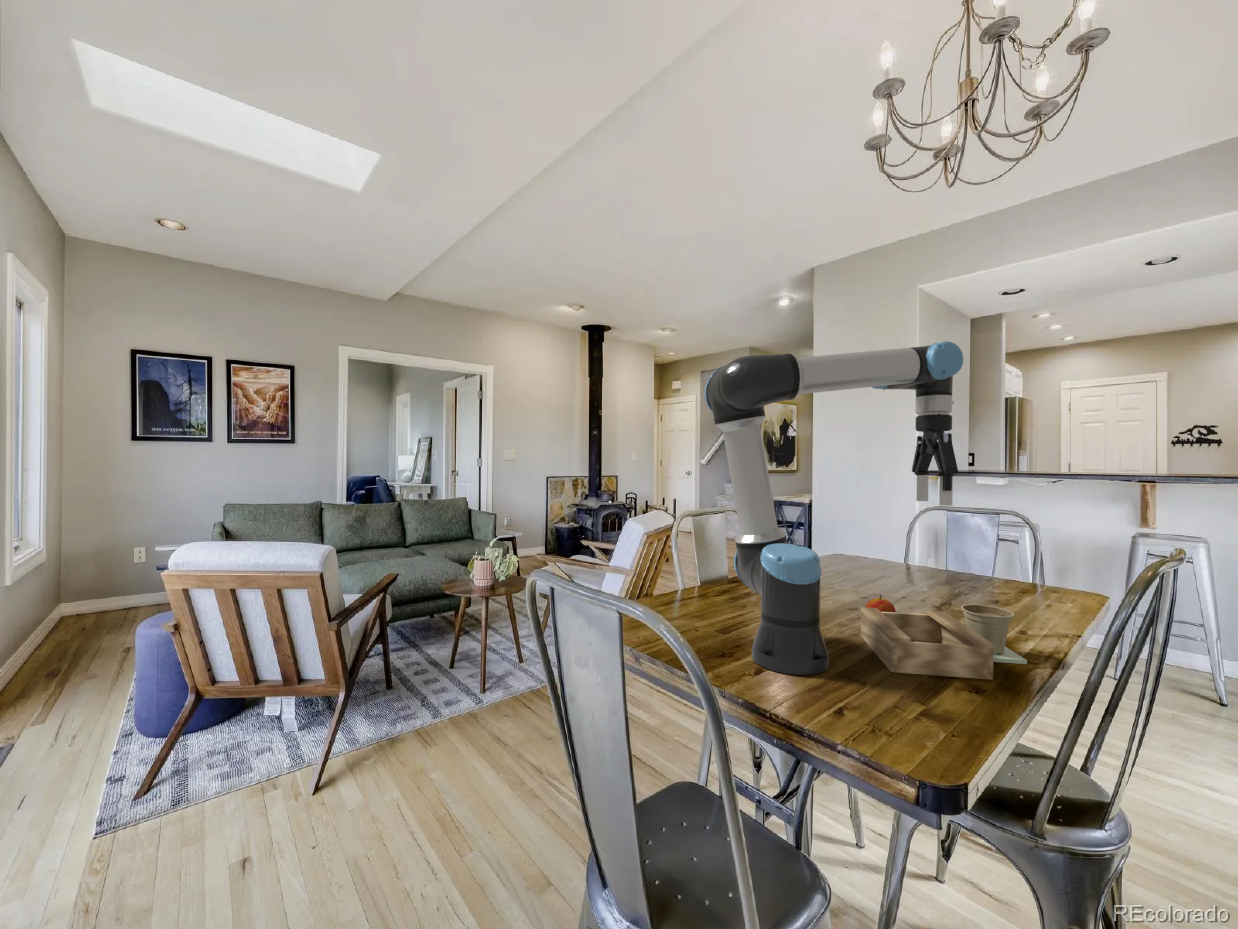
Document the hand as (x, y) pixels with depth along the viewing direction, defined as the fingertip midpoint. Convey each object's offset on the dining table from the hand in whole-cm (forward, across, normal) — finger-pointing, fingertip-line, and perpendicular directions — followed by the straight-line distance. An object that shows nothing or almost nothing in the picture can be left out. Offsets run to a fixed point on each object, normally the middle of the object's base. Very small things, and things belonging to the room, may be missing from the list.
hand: (932, 503), depth 125 cm
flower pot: (+31, -11, -7) cm, 34 cm away
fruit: (+32, +5, +10) cm, 34 cm away
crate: (+32, -15, +8) cm, 36 cm away
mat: (+32, -11, -7) cm, 34 cm away
